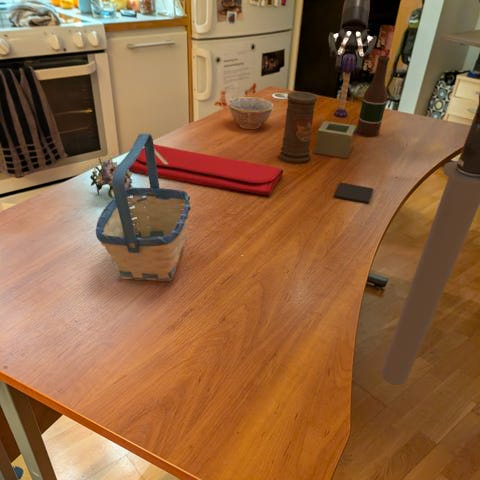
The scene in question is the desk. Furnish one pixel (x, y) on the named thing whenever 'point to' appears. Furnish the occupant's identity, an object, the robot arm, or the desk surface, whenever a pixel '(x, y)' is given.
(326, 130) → the holder
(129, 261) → the basket
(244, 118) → the bowl
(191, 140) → the desk surface
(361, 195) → the mat
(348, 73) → the toy lamp
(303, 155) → the container
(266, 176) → the dish drying mat
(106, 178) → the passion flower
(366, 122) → the beer bottle
